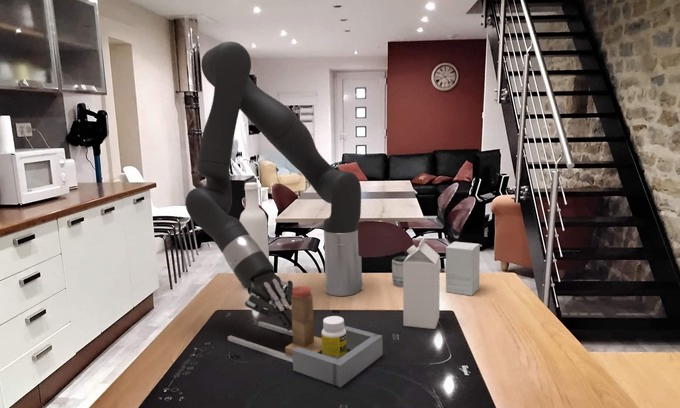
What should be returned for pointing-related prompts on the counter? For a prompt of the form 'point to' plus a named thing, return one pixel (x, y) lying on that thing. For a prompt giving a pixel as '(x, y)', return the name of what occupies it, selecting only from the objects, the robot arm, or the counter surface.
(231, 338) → the track
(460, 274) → the supplement box
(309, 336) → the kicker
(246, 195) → the bottle
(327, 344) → the supplement bottle
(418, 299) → the milk carton
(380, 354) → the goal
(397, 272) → the camera lens
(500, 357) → the counter surface
